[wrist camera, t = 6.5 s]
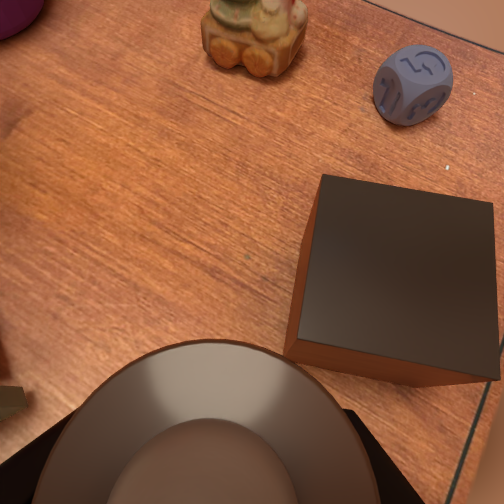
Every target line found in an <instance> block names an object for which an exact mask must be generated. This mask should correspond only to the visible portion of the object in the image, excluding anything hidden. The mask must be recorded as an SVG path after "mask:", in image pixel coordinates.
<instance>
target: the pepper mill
mask: <svg viewBox="0 0 504 504" xmlns="http://www.w3.org/2000/svg"><path fill="white" fill-rule="evenodd" d="M32 504H381V501H380V496H379V491H378V486H377V482H376V479H375V476H374V472H373V469H372V466H371V463H370V460H369V457H368V455H367V453H366V450H365V448H364V446H363V444H362V441H361V439H360V437H359V435H358V433H357V431H356V430H355V428H354V426H353V425H352V423H351V421H350V420H349V418H348V416H347V415H346V413H345V412H344V410H343V409H342V408H341V407H340V405H339V404H338V403H337V401H336V400H335V399H334V397H333V396H332V395H331V394H330V393H329V392H328V391H327V390H326V389H325V388H324V387H323V386H322V385H321V384H320V383H319V382H318V381H317V380H316V379H315V378H314V377H313V376H311V375H310V374H309V373H308V372H306V371H305V370H304V369H303V368H301V367H300V366H298V365H297V364H295V363H293V362H292V361H290V360H289V359H287V358H285V357H284V356H282V355H280V354H277V353H275V352H273V351H271V350H268V349H266V348H264V347H260V346H257V345H253V344H250V343H247V342H241V341H235V340H228V339H199V340H190V341H184V342H180V343H176V344H172V345H168V346H165V347H162V348H160V349H157V350H154V351H152V352H149V353H147V354H145V355H143V356H141V357H139V358H138V359H136V360H134V361H132V362H130V363H128V364H127V365H126V366H124V367H123V368H121V369H120V370H118V371H117V372H116V373H114V374H113V375H111V376H110V377H109V378H108V379H107V380H106V381H104V382H103V383H102V384H101V385H100V386H99V387H98V388H97V389H95V390H94V391H93V392H92V394H91V395H90V396H89V397H88V398H87V399H86V400H85V401H84V402H83V404H82V405H81V406H80V407H79V408H78V409H77V411H76V412H75V414H74V415H73V416H72V418H71V419H70V420H69V422H68V423H67V425H66V426H65V427H64V429H63V431H62V432H61V434H60V436H59V438H58V440H57V441H56V443H55V445H54V447H53V448H52V450H51V452H50V454H49V457H48V459H47V461H46V464H45V466H44V468H43V470H42V473H41V475H40V478H39V481H38V484H37V487H36V490H35V494H34V497H33V500H32Z"/></svg>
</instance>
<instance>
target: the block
mask: <svg viewBox="0 0 504 504" xmlns="http://www.w3.org/2000/svg"><path fill="white" fill-rule="evenodd" d="M283 356H284V357H285V358H287V359H289V360H290V361H292V362H294V363H299V364H304V365H309V366H313V367H318V368H323V369H328V370H332V371H337V372H342V373H347V374H352V375H356V376H361V377H366V378H371V379H375V380H380V381H385V382H390V383H394V384H399V385H404V386H409V387H414V388H422V387H433V386H445V385H456V384H467V383H478V382H489V381H499V380H501V377H500V353H499V330H498V306H497V282H496V259H495V235H494V212H493V203H490V202H485V201H479V200H473V199H467V198H461V197H455V196H449V195H444V194H438V193H432V192H426V191H420V190H414V189H408V188H402V187H397V186H391V185H385V184H379V183H373V182H367V181H361V180H356V179H350V178H344V177H338V176H332V175H326V174H322V177H321V180H320V184H319V187H318V190H317V193H316V197H315V200H314V203H313V206H312V210H311V213H310V216H309V219H308V223H307V226H306V229H305V232H304V236H303V239H302V243H301V249H300V255H299V261H298V267H297V273H296V279H295V285H294V291H293V297H292V303H291V309H290V315H289V321H288V326H287V332H286V338H285V344H284V350H283Z"/></svg>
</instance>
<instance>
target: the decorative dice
mask: <svg viewBox="0 0 504 504" xmlns="http://www.w3.org/2000/svg"><path fill="white" fill-rule="evenodd" d="M452 86H453V72H452V68H451V65H450V63H449V61H448V59H447V58H446V57H445V55H444V54H443V53H441V52H440V51H438V50H437V49H435V48H432V47H430V46H426V45H411V46H407V47H404V48H402V49H400V50H398V51H396V52H395V53H394V54H392V55H391V56H390V57H389V58H388V59H387V60H386V61H385V62H384V63H383V64H382V65H381V67H380V68H379V70H378V71H377V73H376V76H375V79H374V84H373V95H374V101H375V104H376V107H377V109H378V111H379V113H380V114H381V115H382V116H383V117H384V118H385V119H386V120H388V121H389V122H391V123H394V124H397V125H403V126H410V125H414V124H417V123H419V122H421V121H423V120H425V119H427V118H428V117H430V116H431V115H433V114H434V113H435V112H436V111H438V110H439V109H440V108H441V107H442V106H443V105H444V103H445V102H446V101H447V99H448V98H449V96H450V93H451V90H452Z"/></svg>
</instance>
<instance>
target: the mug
mask: <svg viewBox="0 0 504 504" xmlns="http://www.w3.org/2000/svg"><path fill="white" fill-rule="evenodd" d="M43 4H44V0H0V40H3V39H6V38H8V37H10V36H13V35H15V34H17V33H18V32H20V31H21V30H23V29H25V28H26V27H27V26H28V25H29V24H30V23H31V22H32V21H33V20H34V19H36V17H37V15H38V14H39V12H40V10H41V8H42V7H43Z"/></svg>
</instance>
